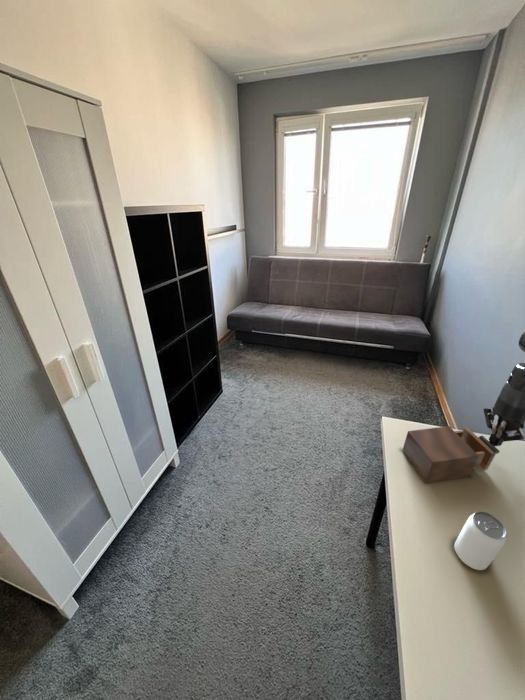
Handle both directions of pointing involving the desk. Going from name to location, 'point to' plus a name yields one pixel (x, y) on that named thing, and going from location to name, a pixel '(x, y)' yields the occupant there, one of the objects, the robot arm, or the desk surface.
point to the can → (480, 540)
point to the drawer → (479, 448)
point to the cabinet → (439, 454)
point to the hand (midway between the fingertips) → (493, 444)
